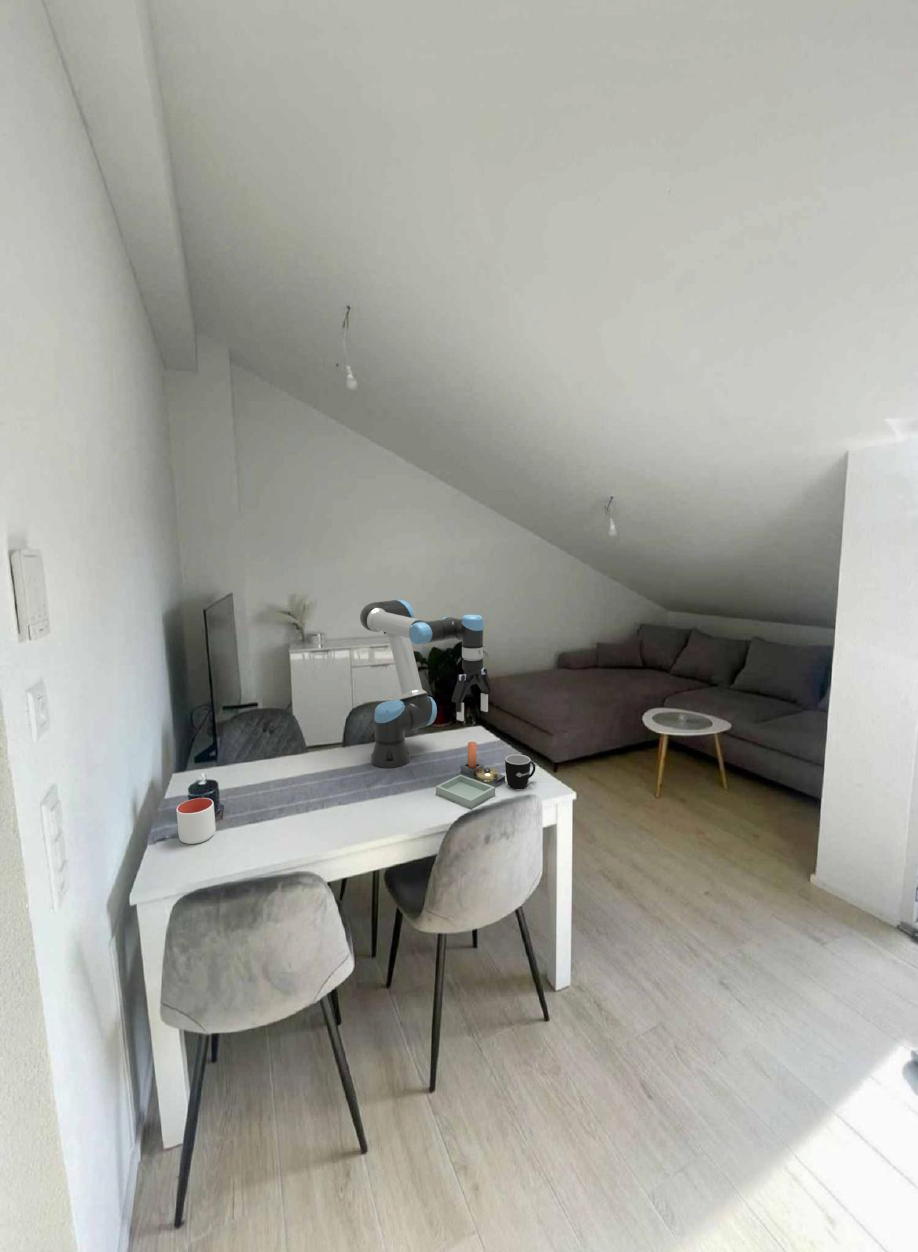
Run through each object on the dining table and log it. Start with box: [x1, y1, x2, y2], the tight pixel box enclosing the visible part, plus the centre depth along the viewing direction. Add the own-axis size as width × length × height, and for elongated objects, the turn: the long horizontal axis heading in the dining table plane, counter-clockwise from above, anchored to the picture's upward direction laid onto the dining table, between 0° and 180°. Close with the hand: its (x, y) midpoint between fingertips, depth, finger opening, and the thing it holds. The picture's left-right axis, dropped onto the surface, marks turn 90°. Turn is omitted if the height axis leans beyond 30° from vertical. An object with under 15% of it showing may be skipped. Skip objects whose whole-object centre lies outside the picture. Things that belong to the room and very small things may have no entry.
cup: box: [175, 797, 217, 845], centre depth 166 cm, size 10×10×10 cm
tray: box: [435, 774, 496, 810], centre depth 193 cm, size 16×13×3 cm
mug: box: [504, 753, 536, 791], centre depth 200 cm, size 12×9×10 cm
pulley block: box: [455, 761, 506, 789], centre depth 203 cm, size 15×10×6 cm, turn 49°
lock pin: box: [467, 741, 478, 768], centre depth 205 cm, size 3×3×11 cm
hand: (472, 715), depth 202 cm, fingers open, 13 cm apart
